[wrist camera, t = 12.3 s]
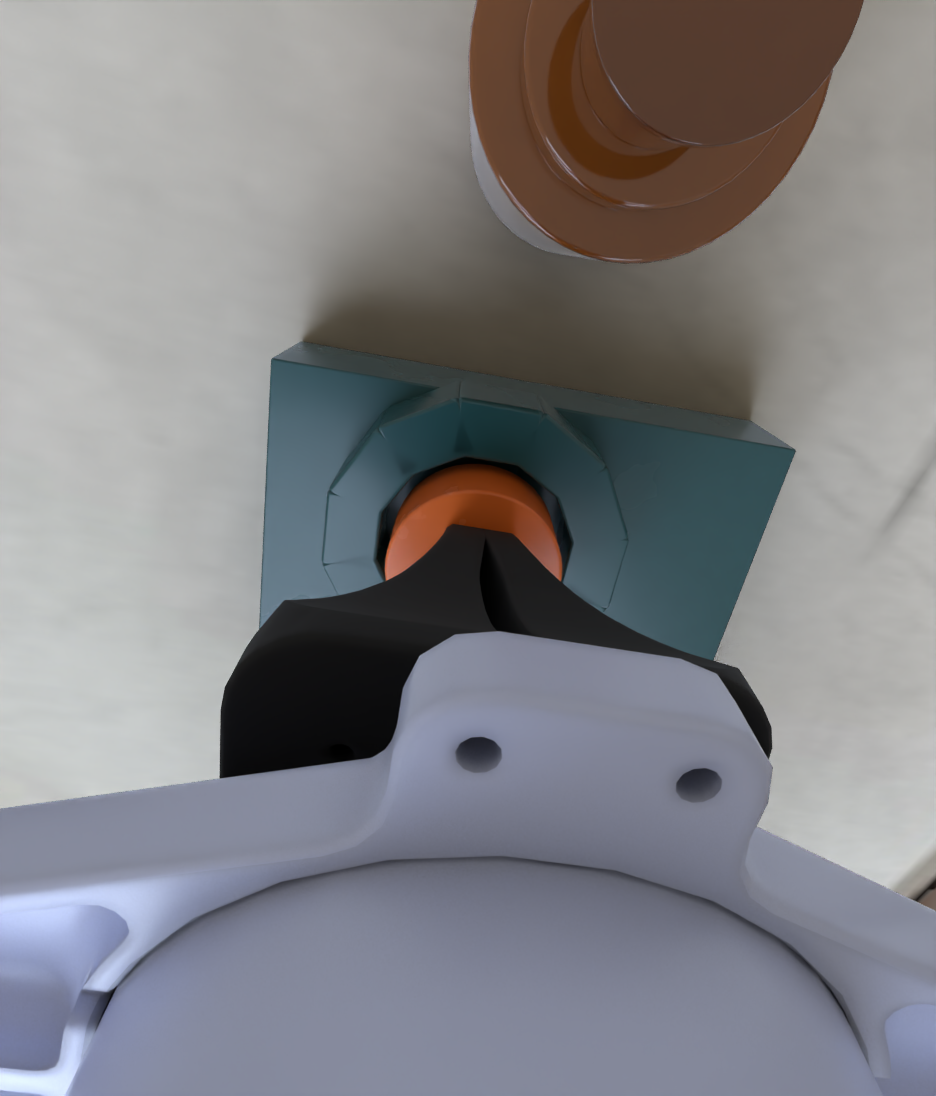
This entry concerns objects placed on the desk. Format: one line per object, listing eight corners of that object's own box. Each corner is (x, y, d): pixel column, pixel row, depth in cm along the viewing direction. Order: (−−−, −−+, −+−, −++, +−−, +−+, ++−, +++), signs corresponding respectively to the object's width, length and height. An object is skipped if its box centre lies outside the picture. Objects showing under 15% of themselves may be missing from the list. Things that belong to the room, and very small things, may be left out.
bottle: (731, 165, 15) (1076, 63, 6) (546, 298, 16) (628, 363, 8) (623, -68, 13) (894, -625, 5) (426, 102, 15) (358, -97, 6)
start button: (569, 477, 14) (581, 506, 13) (534, 618, 16) (541, 661, 14) (405, 449, 14) (396, 476, 12) (385, 595, 16) (375, 635, 14)
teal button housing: (755, 411, 17) (841, 463, 13) (654, 692, 21) (697, 798, 17) (300, 330, 17) (244, 359, 13) (281, 637, 21) (234, 735, 16)
